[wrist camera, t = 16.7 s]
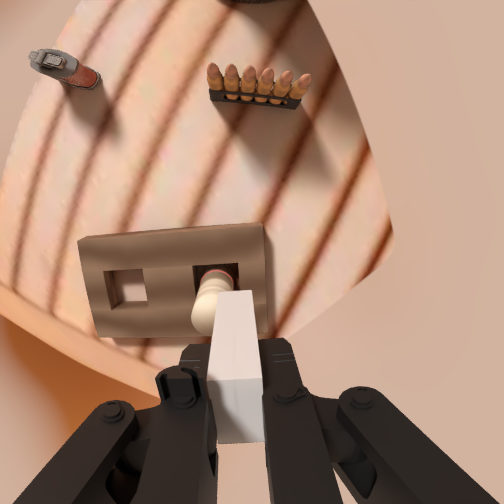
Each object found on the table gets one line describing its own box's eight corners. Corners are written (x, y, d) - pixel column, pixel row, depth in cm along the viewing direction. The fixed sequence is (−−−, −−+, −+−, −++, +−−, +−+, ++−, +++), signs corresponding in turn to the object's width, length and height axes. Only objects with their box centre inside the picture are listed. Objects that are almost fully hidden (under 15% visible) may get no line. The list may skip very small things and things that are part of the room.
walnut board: (86, 236, 39) (77, 241, 37) (261, 222, 40) (263, 226, 37) (105, 327, 43) (98, 337, 40) (266, 322, 44) (267, 332, 41)
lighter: (53, 80, 33) (15, 64, 24) (64, 59, 33) (28, 39, 23) (93, 94, 35) (57, 77, 25) (105, 72, 34) (72, 50, 24)
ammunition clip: (210, 100, 36) (199, 72, 24) (212, 87, 36) (202, 54, 24) (295, 109, 37) (319, 86, 25) (296, 96, 36) (320, 68, 25)
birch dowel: (200, 263, 41) (187, 300, 30) (233, 261, 41) (231, 297, 30) (204, 293, 42) (193, 338, 31) (235, 291, 42) (235, 336, 31)
